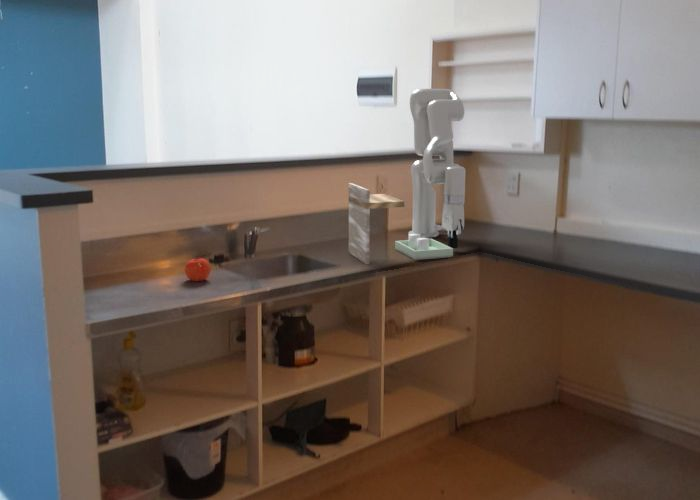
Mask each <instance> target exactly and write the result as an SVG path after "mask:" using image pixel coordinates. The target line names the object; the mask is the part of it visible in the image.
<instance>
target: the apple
mask: <svg viewBox="0 0 700 500" xmlns="http://www.w3.org/2000/svg"><path fill="white" fill-rule="evenodd" d="M211 270H212V268H211V264H210V261H208V260H207V259H206V258H202V257H201V258H198V255H196V256H195V258H193V259H189V260H188V261H187V262H186V264H185V266H184V273H185V276H186V277H187V278H188V279H189V280H190V281H192V282H203V281H205V280H206V279H207V278H208V277H209V276H210V275H211Z"/></svg>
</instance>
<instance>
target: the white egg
mask: <svg viewBox="0 0 700 500" xmlns="http://www.w3.org/2000/svg"><path fill="white" fill-rule="evenodd" d="M429 239H430V238H417V251H418V250H429Z"/></svg>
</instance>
